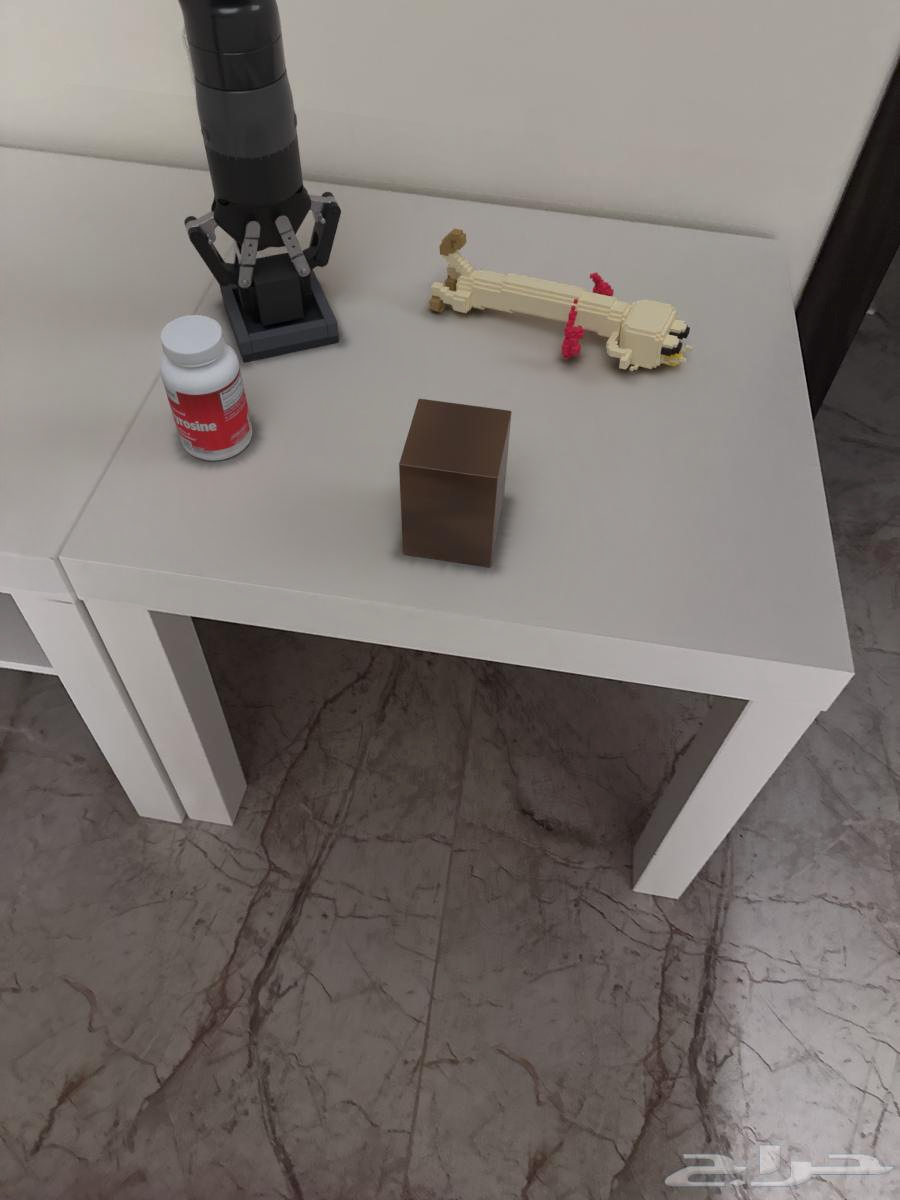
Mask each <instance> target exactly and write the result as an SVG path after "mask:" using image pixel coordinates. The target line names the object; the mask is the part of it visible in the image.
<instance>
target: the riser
mask: <svg viewBox="0 0 900 1200" xmlns="http://www.w3.org/2000/svg"><path fill="white" fill-rule="evenodd" d="M416 402H417V403H416V406H415V408H414V413H413V416H412V420H411V423H410V427H409V429H408V432H407V437H406V440H405V443H404V447H403V450H402V453H401V456H400V458H399V459H400V460H399V463H398V471H399V472H398V473H399V496H400V518H401V522H400V523H401V540H402V542H401V545H402V555H405V556H410V557H411V556H412V557H418V558H423V559H431V560H436V561H437V560H438V561H443V562H444V561H445V562H452V563H458V564H463V565H471V566H477V567H478V566H479V567H485V568H491V567H492V563H493V557H494V551H495V549H496V548H495V547H496V542H497V537H498V534H499V533H498V532H499V526H500V521H501V516H502V513H503V512H502V511H503V507H504V502H505V501H504V500H505V489H506V479H507V478H506V477H507V467H508V455H509V446H510V434H511V433H510V432H511V425H512V424H511V421H512V413H513V412H512V410H509V409H502V408H494V407H487V406H479V405H472V404H471V405H470V404H464V403H457V402H456V403H455V402H450V401H449V402H448V401H440V400H433V399H427V398H426V399H425V398H418V399H417V401H416Z"/></svg>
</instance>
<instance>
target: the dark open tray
mask: <svg viewBox="0 0 900 1200" xmlns="http://www.w3.org/2000/svg"><path fill="white" fill-rule="evenodd" d="M310 280H311V288H312V296H313V298H312V302H311V303H307V309H306V310H303V313H304V318H300V319H295V320H291V321H286V322H281V323H276V324H271V325H266V326H262V323H261V320H260V319H257V320H253V318H252V315H246V313H245V312H244V310H243V307H242V304H241V301H240V296H239V291H238V286H237V285H235V284H229V285H227V286H221V285H220V284H219V289H220V294H221V299H222V304H223V306H224V307H223V308H224V309H225V313H226V315H227V318H228V321H229V324H230V327H231V329H232V332H233V336H234V339H235V342H236V344H237V347H238V350H239V352H240V355H241V358H242V362H243V363H248V362H252V361H257V360H261V359H267V358H271V357H277V356H281V355H285V354H290V353H295V352H300V351H305V350H309V349H314V348H318V347H323V346H327V345H328V346H329V345H332V344H333V345H334V344H337V343H340V337H339V336H340V335H339V326H338V321H337V319H336V316H335V315H334V312H333V310H332V308H331V306H330V304H329V301H328V299H327V296H326V294H325V292H324V290H323V288H322V286H321V283H320V281H319V279H318V277H317V275H316V273H315V271H314V269H313V270H312V271H311V273H310Z"/></svg>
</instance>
